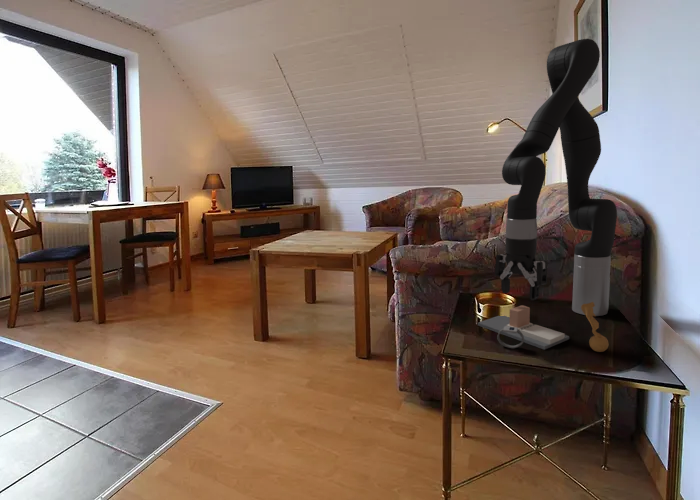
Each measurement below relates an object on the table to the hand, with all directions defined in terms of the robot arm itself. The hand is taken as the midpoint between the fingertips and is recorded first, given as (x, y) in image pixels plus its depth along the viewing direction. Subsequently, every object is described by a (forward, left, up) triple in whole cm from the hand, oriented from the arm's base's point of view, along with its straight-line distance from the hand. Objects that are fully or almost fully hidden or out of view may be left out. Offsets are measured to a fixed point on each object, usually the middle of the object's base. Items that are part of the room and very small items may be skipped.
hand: (519, 296), depth 115 cm
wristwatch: (+10, +5, -10) cm, 15 cm away
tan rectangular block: (0, 0, -10) cm, 10 cm away
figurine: (-4, +18, -10) cm, 21 cm away
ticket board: (0, +1, -10) cm, 10 cm away
